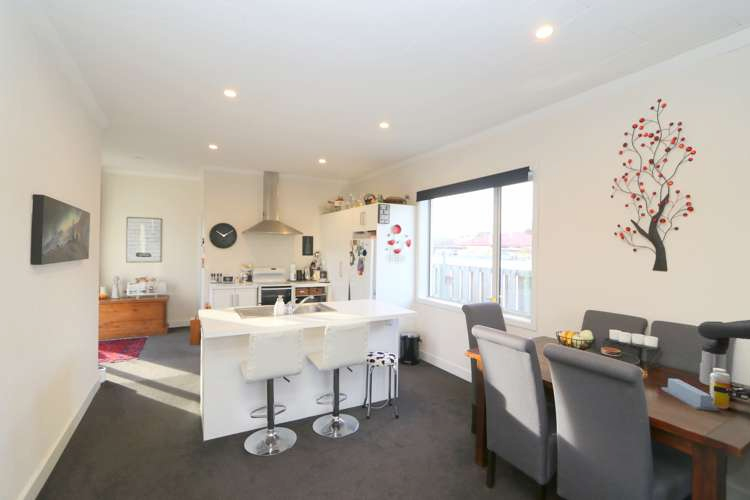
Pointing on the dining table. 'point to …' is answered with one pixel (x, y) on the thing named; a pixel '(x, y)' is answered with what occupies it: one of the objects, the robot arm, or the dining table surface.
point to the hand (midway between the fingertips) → (713, 386)
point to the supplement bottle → (717, 371)
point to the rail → (689, 395)
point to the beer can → (717, 397)
